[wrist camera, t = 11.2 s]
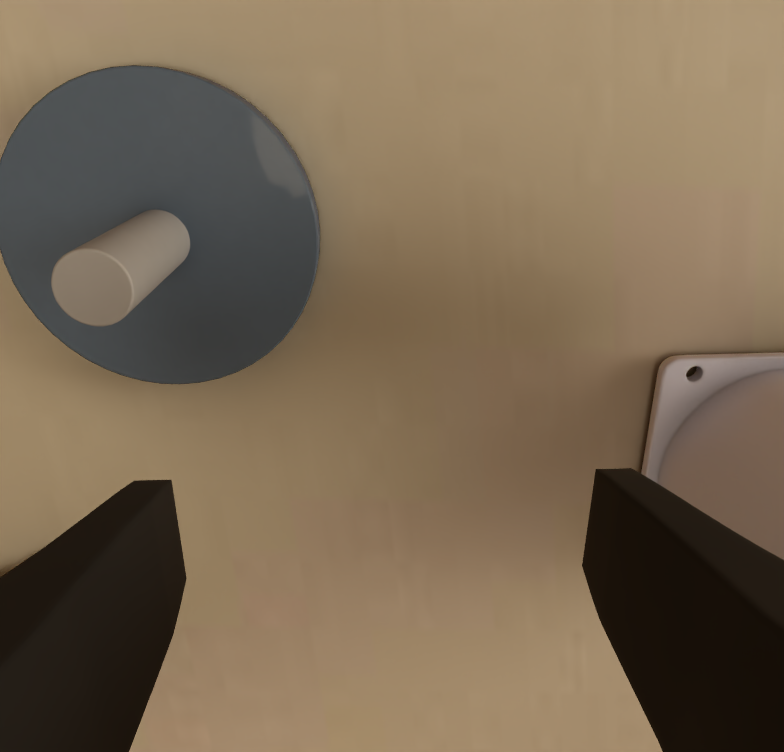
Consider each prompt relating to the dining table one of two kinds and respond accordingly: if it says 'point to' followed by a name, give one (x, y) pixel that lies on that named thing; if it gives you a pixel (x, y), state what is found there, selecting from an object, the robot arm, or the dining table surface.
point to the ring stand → (157, 224)
